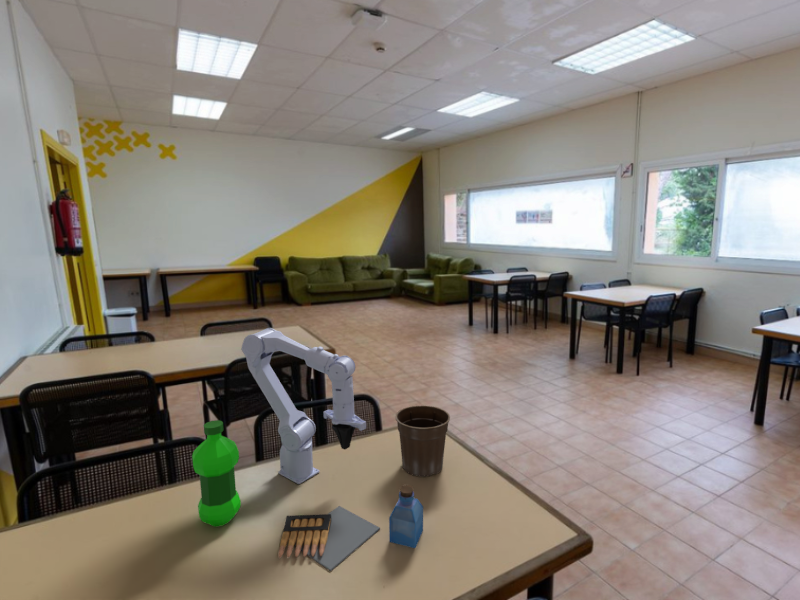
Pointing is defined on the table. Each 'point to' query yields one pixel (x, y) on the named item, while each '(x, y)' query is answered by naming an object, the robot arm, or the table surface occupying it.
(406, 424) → the plant pot
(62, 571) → the table surface
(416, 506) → the perfume bottle
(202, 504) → the plastic bottle
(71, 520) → the table surface
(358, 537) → the rubber mat
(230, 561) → the table surface
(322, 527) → the ammunition clip
